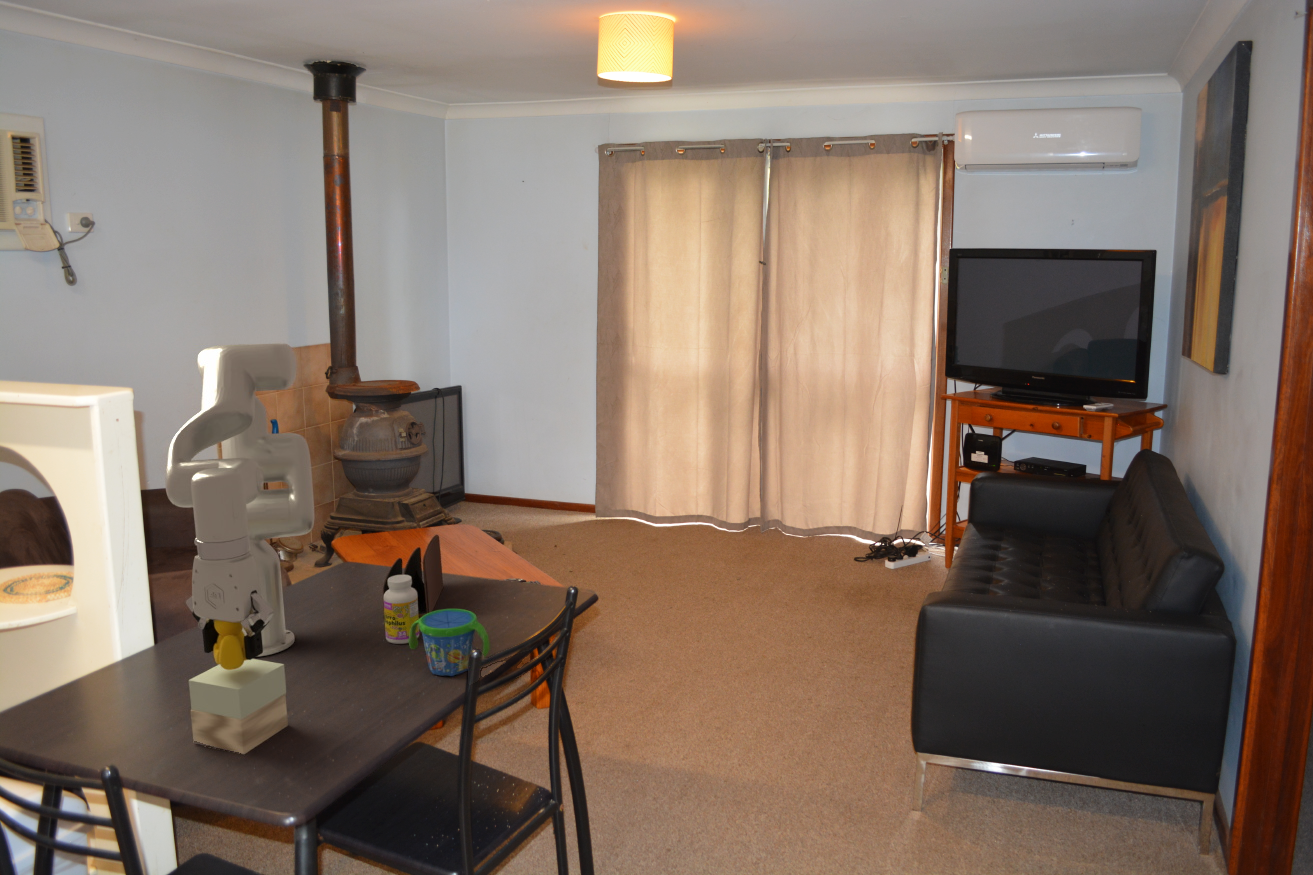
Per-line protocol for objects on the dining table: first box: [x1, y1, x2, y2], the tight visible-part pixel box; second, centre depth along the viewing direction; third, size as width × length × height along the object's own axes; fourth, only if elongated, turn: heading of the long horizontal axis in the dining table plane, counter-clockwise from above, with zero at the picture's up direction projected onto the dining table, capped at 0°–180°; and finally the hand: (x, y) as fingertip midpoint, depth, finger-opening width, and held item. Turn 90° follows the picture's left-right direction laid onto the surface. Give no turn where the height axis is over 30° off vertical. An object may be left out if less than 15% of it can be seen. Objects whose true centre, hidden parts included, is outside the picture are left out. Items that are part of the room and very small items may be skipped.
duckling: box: [212, 620, 247, 670], centre depth 155 cm, size 11×5×10 cm, turn 23°
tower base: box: [190, 693, 289, 755], centre depth 157 cm, size 10×10×6 cm
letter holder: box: [382, 534, 444, 620], centre depth 216 cm, size 10×20×14 cm, turn 4°
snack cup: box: [408, 608, 491, 677], centre depth 181 cm, size 16×10×10 cm
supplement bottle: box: [384, 574, 420, 645], centre depth 196 cm, size 7×7×13 cm
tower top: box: [188, 658, 287, 719], centre depth 156 cm, size 10×10×5 cm
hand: (233, 652), depth 155 cm, fingers open, 7 cm apart
